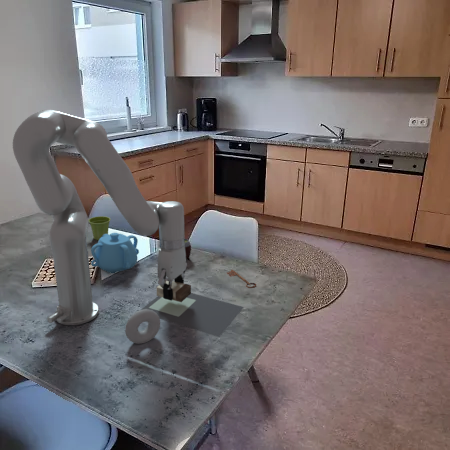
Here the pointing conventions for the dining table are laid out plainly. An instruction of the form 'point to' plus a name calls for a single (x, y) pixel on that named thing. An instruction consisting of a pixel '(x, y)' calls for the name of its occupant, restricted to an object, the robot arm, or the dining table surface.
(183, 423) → the dining table surface
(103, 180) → the robot arm
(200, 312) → the mat
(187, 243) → the mate gourd
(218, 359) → the dining table surface
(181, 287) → the wooden block
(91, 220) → the plant pot
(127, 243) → the decorative pot
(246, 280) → the key
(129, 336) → the donut
